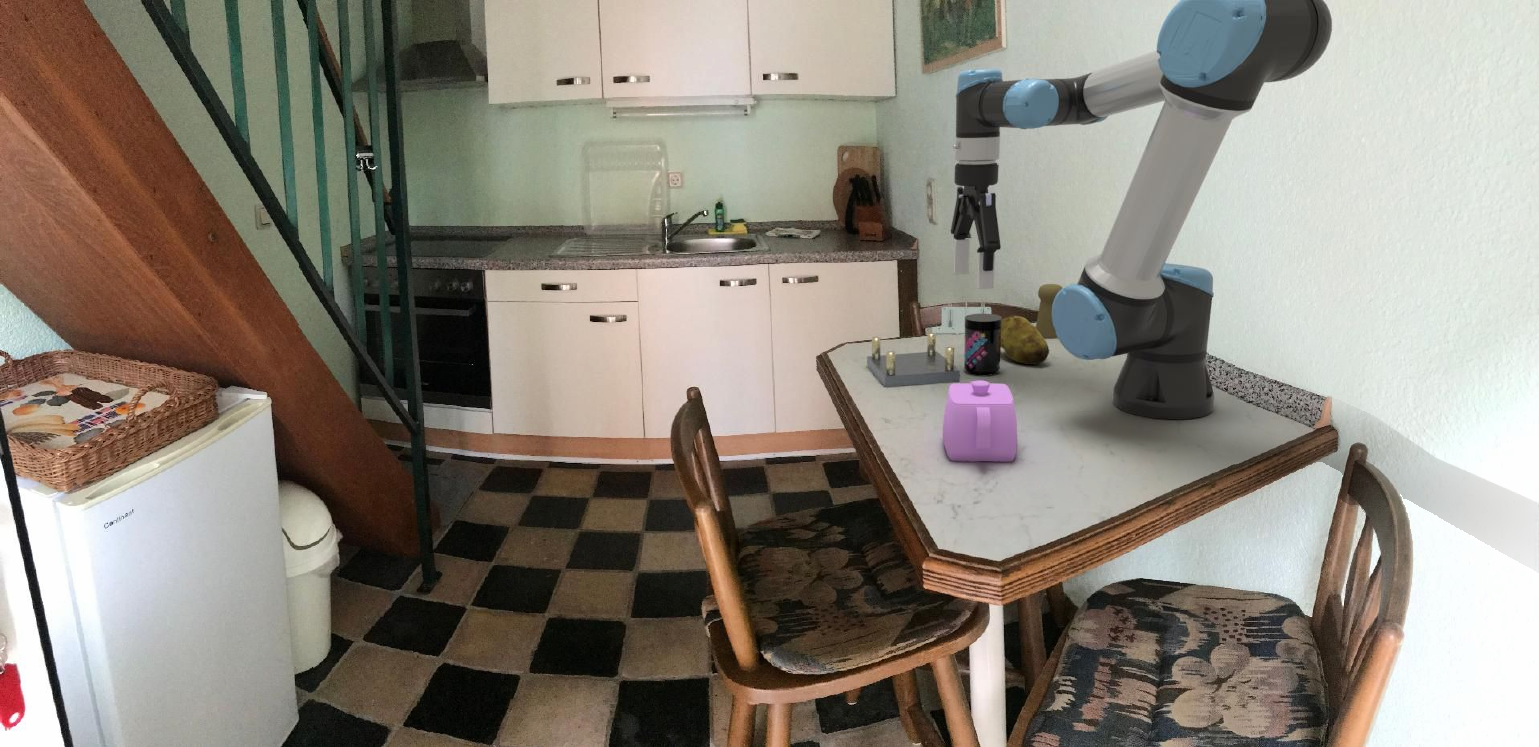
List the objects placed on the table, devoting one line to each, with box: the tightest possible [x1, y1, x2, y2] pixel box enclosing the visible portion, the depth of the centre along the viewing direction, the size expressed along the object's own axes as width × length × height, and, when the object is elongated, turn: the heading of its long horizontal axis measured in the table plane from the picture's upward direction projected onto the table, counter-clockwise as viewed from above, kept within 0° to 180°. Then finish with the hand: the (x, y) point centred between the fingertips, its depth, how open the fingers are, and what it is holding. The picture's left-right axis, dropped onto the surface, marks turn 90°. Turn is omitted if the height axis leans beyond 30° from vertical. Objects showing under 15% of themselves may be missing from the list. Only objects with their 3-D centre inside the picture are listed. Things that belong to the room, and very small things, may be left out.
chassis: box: [866, 332, 961, 388], centre depth 168 cm, size 14×14×6 cm
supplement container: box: [963, 313, 1003, 376], centre depth 167 cm, size 7×7×10 cm
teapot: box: [942, 380, 1018, 463], centre depth 131 cm, size 18×10×10 cm, turn 171°
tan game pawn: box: [1035, 283, 1064, 340], centre depth 191 cm, size 6×6×11 cm
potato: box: [1001, 315, 1050, 365], centre depth 174 cm, size 8×13×8 cm, turn 0°
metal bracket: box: [931, 301, 992, 336], centre depth 201 cm, size 14×6×15 cm
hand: (972, 281), depth 164 cm, fingers open, 13 cm apart
